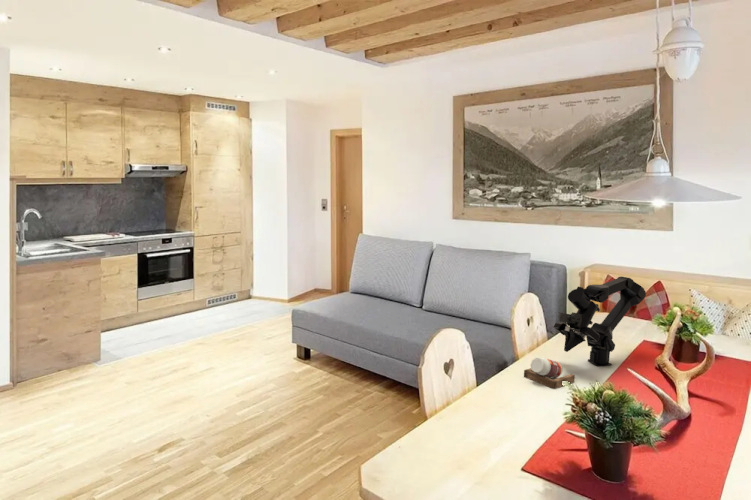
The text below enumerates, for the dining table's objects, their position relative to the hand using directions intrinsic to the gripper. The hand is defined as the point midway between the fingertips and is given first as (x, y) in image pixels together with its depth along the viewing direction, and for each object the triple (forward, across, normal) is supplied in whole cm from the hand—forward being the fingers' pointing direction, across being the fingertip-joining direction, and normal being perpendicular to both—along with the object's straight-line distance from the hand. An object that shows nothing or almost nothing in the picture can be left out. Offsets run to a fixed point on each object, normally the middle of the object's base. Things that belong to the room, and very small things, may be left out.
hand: (565, 351), depth 193 cm
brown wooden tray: (+12, +2, -2) cm, 13 cm away
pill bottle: (+8, +1, -1) cm, 9 cm away
